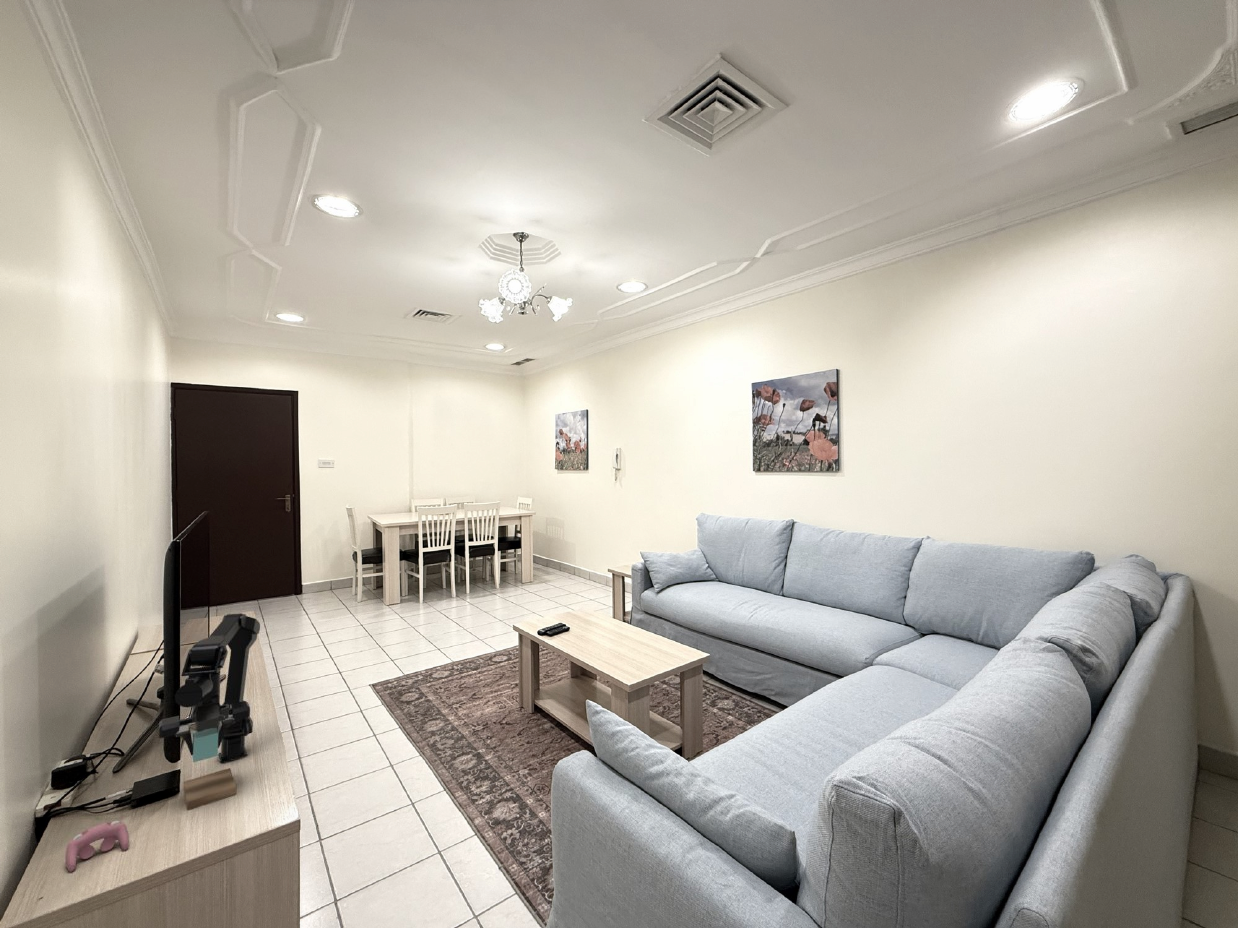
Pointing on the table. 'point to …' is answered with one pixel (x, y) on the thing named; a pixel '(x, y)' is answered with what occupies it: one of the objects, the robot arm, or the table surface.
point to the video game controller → (106, 831)
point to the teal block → (205, 744)
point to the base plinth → (209, 788)
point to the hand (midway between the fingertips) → (205, 750)
